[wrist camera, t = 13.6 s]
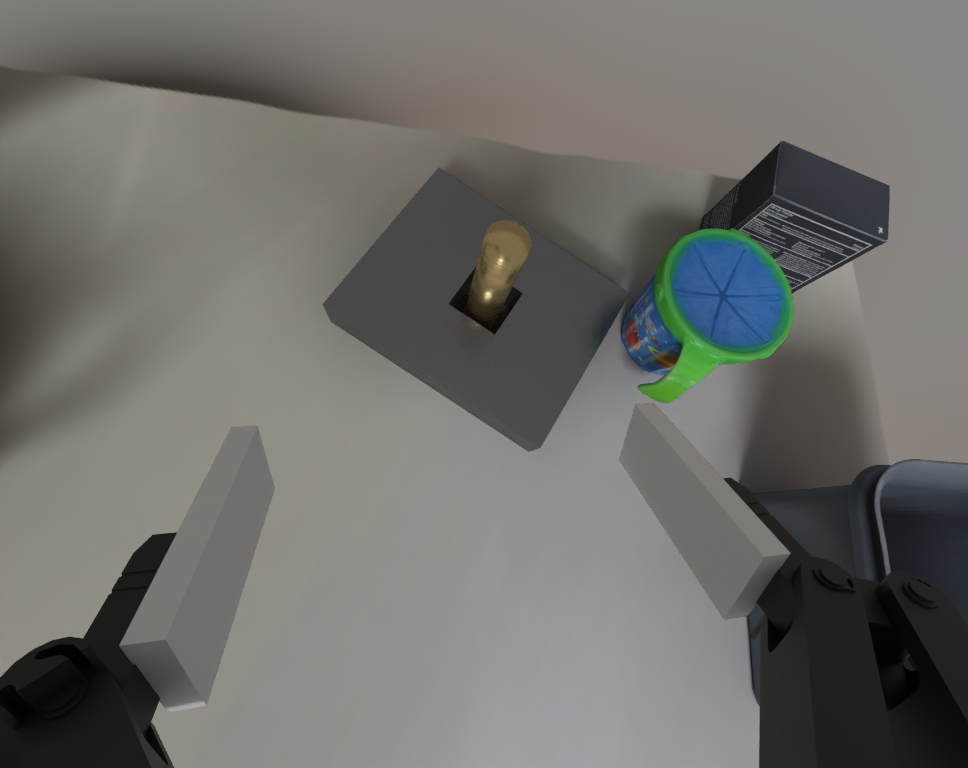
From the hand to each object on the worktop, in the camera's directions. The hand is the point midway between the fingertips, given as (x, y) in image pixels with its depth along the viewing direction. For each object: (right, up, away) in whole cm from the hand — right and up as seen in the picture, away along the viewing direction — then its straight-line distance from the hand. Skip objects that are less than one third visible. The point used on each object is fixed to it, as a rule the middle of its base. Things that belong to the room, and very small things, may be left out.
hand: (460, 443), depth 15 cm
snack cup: (+17, +6, +26) cm, 32 cm away
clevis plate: (0, +8, +23) cm, 25 cm away
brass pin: (0, +8, +23) cm, 25 cm away
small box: (+28, +15, +30) cm, 44 cm away
